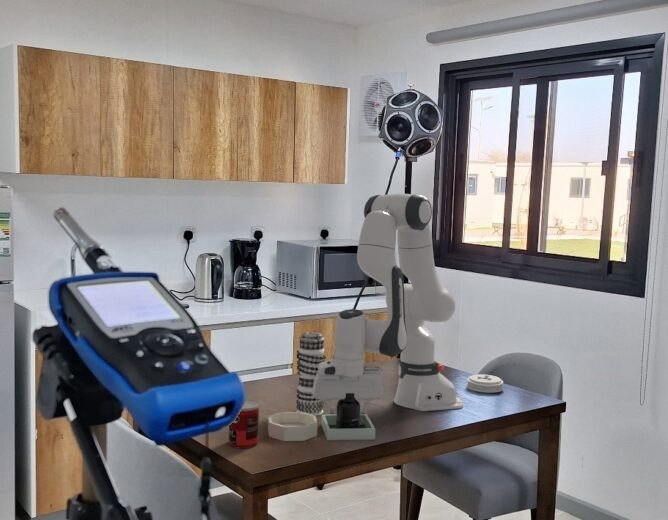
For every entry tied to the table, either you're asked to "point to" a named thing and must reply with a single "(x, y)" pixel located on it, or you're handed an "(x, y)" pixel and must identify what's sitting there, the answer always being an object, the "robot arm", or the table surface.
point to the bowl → (292, 426)
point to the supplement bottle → (348, 412)
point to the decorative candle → (309, 372)
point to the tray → (348, 433)
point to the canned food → (245, 426)
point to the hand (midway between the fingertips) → (347, 413)
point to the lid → (485, 383)
